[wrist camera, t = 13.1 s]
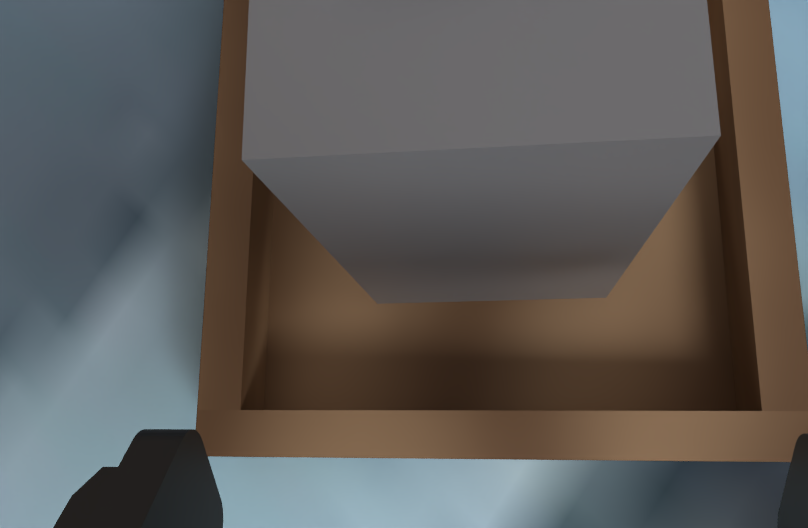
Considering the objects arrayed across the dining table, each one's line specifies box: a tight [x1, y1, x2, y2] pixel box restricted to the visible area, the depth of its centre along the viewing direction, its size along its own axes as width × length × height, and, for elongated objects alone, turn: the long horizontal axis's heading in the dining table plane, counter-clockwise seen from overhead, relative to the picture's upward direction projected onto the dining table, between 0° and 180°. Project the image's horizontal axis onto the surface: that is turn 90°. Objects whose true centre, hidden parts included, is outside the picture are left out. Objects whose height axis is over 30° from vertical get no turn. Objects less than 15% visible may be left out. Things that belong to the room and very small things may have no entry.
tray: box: [196, 0, 808, 462], centre depth 19 cm, size 13×13×2 cm
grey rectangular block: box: [242, 0, 721, 304], centre depth 14 cm, size 6×6×12 cm
